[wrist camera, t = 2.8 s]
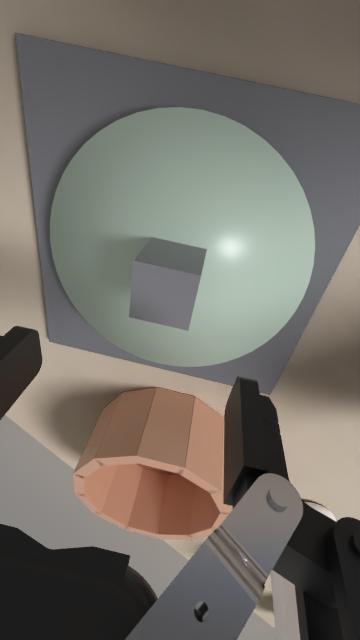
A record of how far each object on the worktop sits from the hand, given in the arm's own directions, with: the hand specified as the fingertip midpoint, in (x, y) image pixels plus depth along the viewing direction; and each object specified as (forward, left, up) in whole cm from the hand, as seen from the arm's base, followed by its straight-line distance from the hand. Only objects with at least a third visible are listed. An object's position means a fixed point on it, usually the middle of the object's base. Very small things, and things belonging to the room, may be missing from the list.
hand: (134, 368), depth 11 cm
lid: (0, 0, -10) cm, 10 cm away
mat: (0, 0, -11) cm, 11 cm away
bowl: (+20, +2, -11) cm, 22 cm away
